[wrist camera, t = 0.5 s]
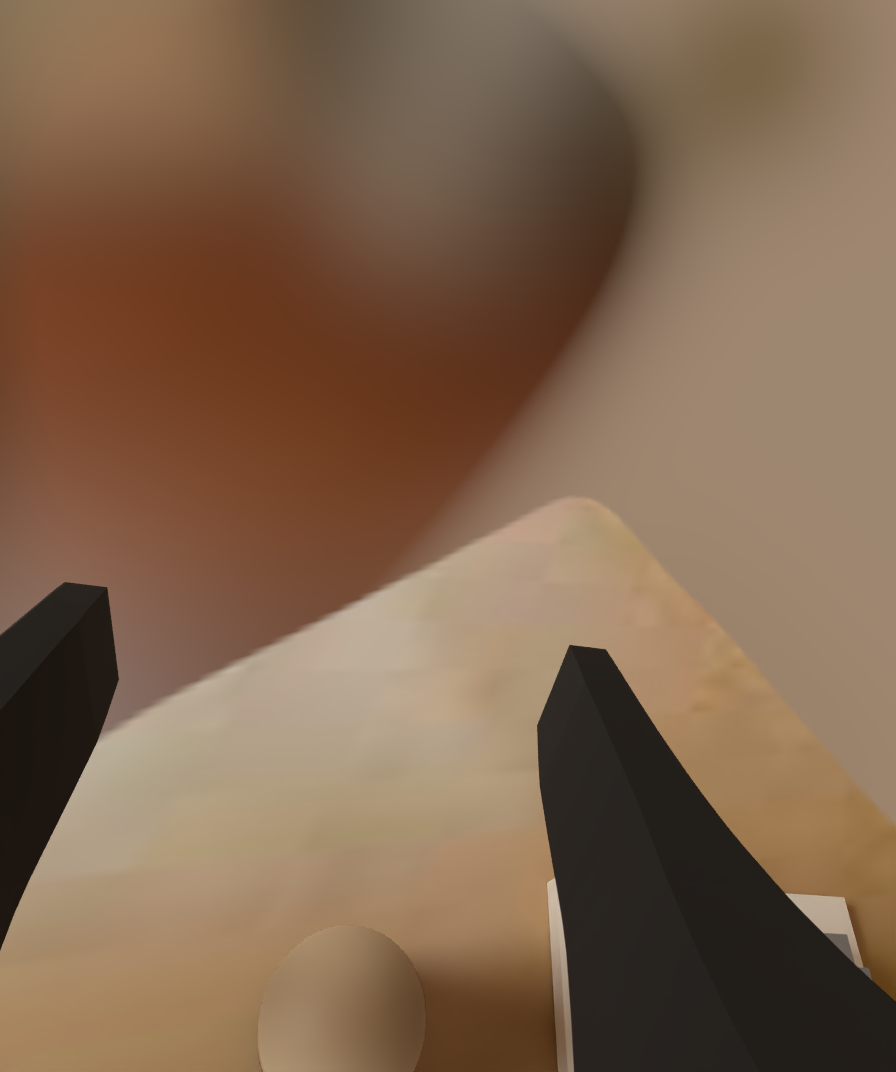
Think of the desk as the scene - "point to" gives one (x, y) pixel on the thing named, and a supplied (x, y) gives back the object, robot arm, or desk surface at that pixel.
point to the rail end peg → (343, 1006)
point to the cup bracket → (818, 909)
